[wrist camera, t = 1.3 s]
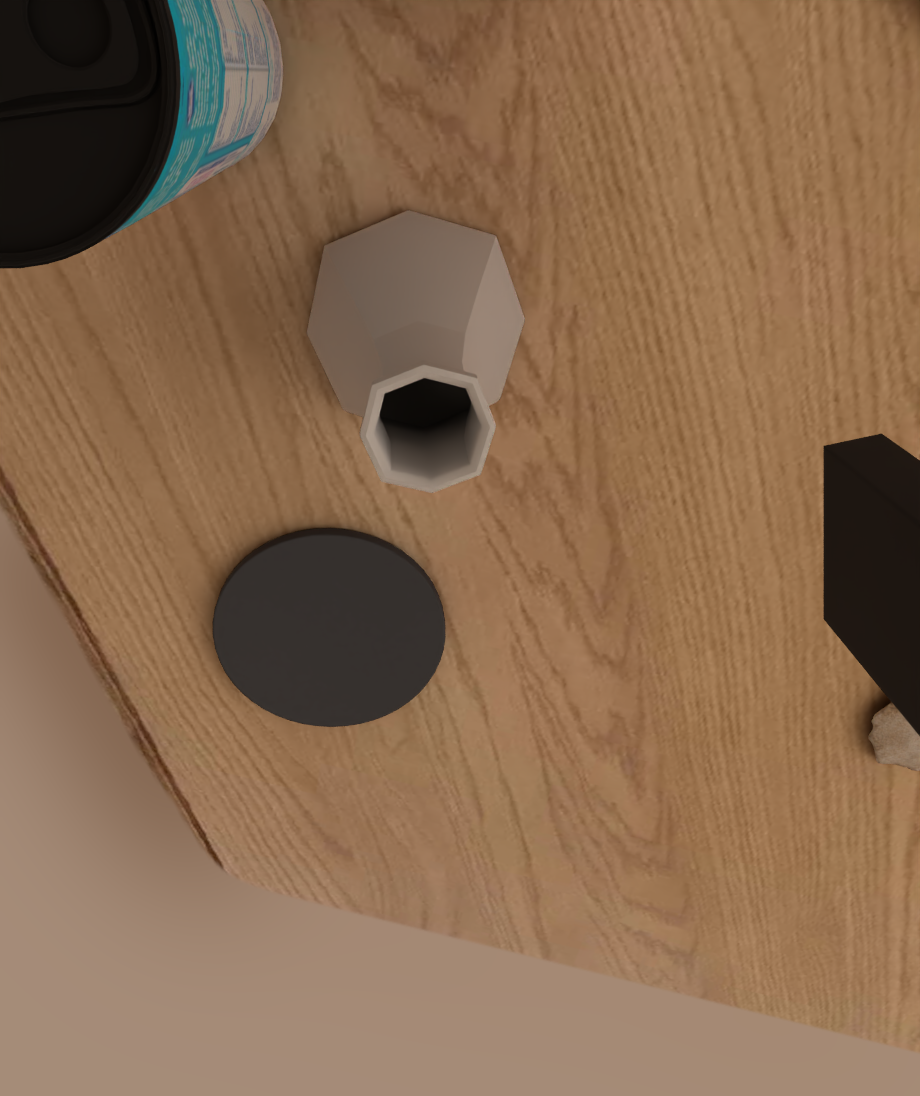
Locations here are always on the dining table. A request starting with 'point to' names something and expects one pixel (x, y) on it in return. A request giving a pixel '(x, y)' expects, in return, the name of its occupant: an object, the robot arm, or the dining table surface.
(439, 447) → the flask
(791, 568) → the dining table surface
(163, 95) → the beverage can
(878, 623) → the robot arm
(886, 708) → the stone
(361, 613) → the slate coaster
